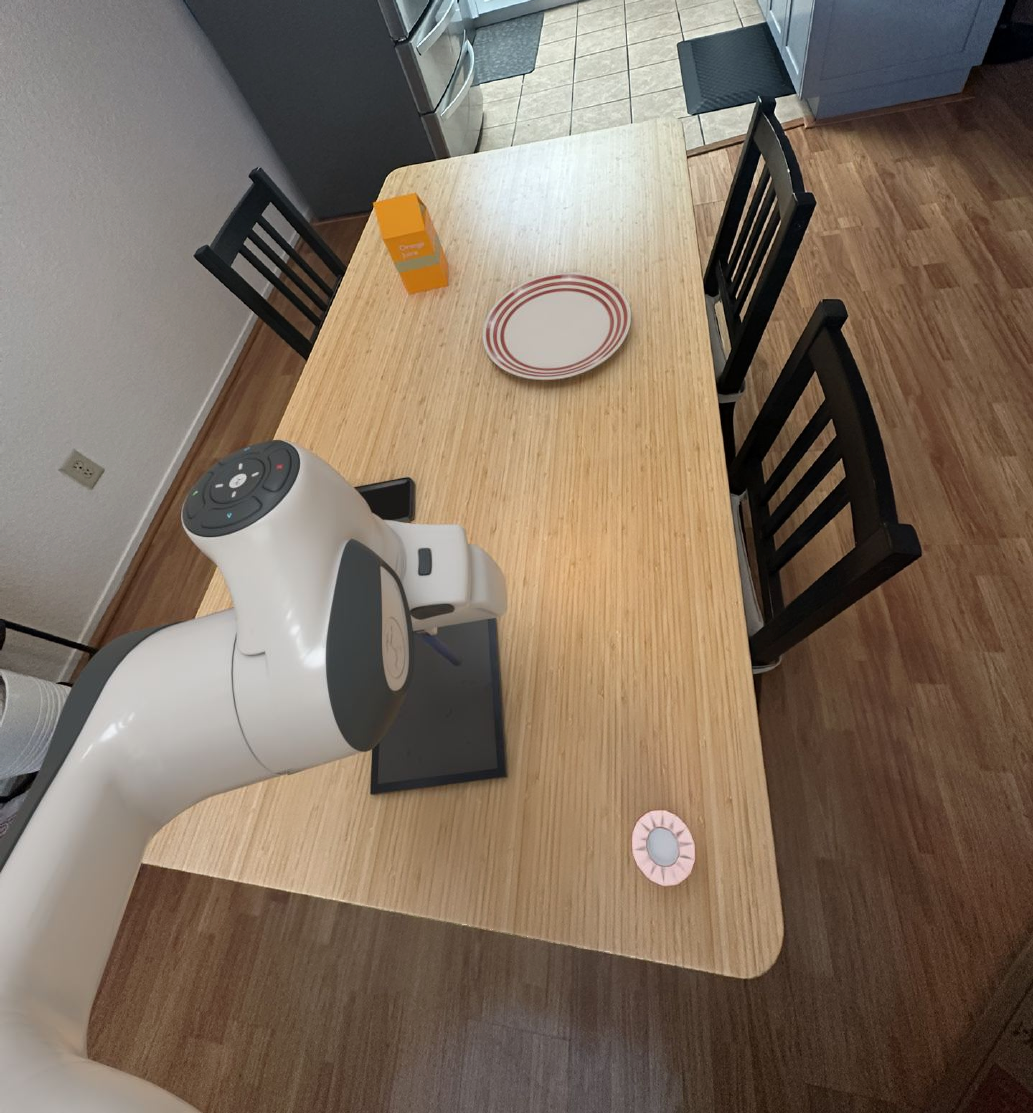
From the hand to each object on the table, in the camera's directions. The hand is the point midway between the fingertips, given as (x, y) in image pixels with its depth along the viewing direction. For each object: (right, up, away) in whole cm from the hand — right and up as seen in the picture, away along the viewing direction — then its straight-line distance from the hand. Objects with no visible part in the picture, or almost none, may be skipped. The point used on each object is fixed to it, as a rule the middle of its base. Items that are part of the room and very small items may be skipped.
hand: (418, 629), depth 56 cm
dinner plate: (+17, +37, +53) cm, 67 cm away
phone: (-14, +6, +39) cm, 42 cm away
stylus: (+1, -3, +4) cm, 5 cm away
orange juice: (-9, +51, +70) cm, 87 cm away
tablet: (-1, -14, +21) cm, 26 cm away
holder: (+25, -25, +7) cm, 37 cm away
